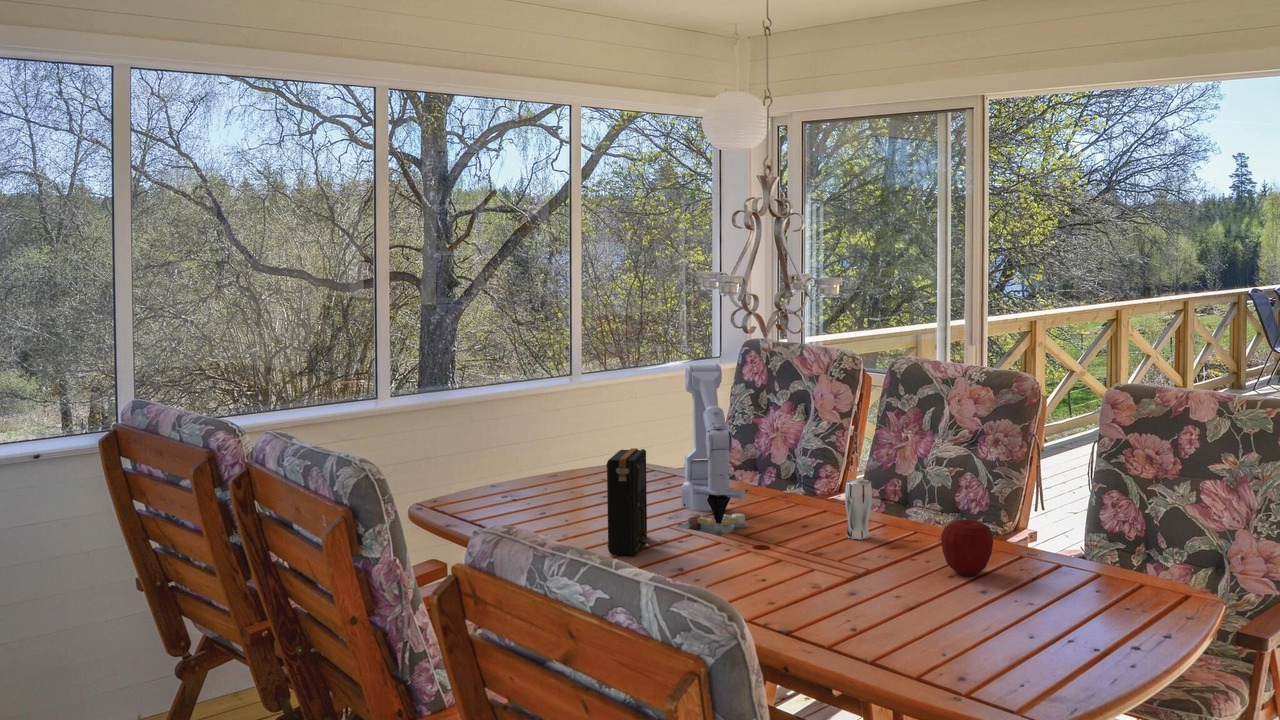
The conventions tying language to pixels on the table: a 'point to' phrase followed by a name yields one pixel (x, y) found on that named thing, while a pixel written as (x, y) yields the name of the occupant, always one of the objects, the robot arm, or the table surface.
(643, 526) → the voltmeter
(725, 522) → the footscrew grey
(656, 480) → the table surface
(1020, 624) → the table surface
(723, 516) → the bubble vial
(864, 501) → the beer glass
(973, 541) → the apple
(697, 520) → the beige knobbed bar
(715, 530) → the levelling plate
